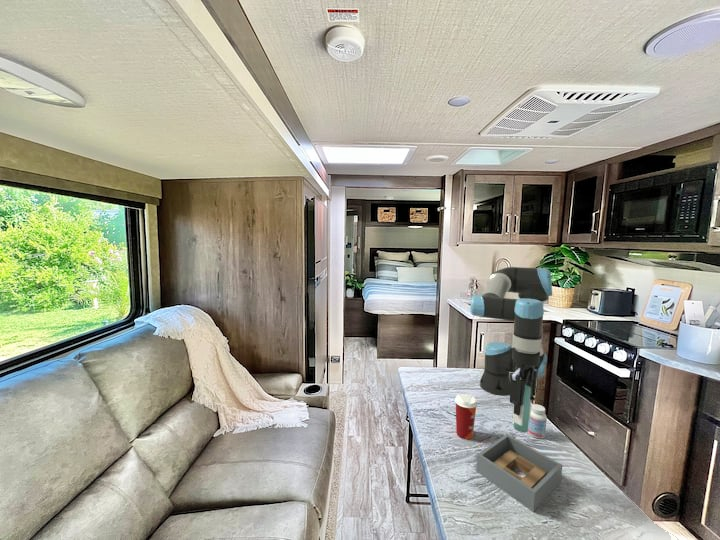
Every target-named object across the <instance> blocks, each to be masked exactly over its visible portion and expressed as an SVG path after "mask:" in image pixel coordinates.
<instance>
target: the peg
mask: <svg viewBox="0 0 720 540" xmlns="http://www.w3.org/2000/svg"><path fill="white" fill-rule="evenodd" d="M530 395H531V387H530V386H528V385H525V391H524V397H523V403H522V405H524V411H523V425H522V426H521V425H519V424H517V423H515V422H513V428H514V430H516V431H517V432H519V433H528V423H529V409H530Z"/></svg>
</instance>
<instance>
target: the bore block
mask: <svg viewBox="0 0 720 540" xmlns="http://www.w3.org/2000/svg"><path fill="white" fill-rule="evenodd" d="M493 463H495V464H496V465H498V466H499V467H501V468H502V469H504V470H505V471H507V472H508V473H510V474H511V475H513V476H514V477H516V478H517V479H519V480H520V481H522V482H523V483H525V484H526V485H528V486H529V487H531V488H532V489H533V488H534V487H535V486H536V485H537V484H538V483H539V482H540V481H541V480H542V479H543V478H544V477H545V476H546V475H547V471H545V470H543V469H542V468H540V467H538V466H536V465H535V464H533V463H531V462H530V461H528V460H526V459H525V458H523V457H521V456H520V455H518V454H516V453H515V452H513V451H511V450H509V451H508V452H506V453H505V454H504V455H502V456H501V457H500V458H498V459H497V460H496V461H494V462H493ZM513 468H514V469H515V470H518V472H521V473H522V474H523V475H524V476H521V475H520V474H517V473H516V472H515V471H513V470H512V469H513Z"/></svg>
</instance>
